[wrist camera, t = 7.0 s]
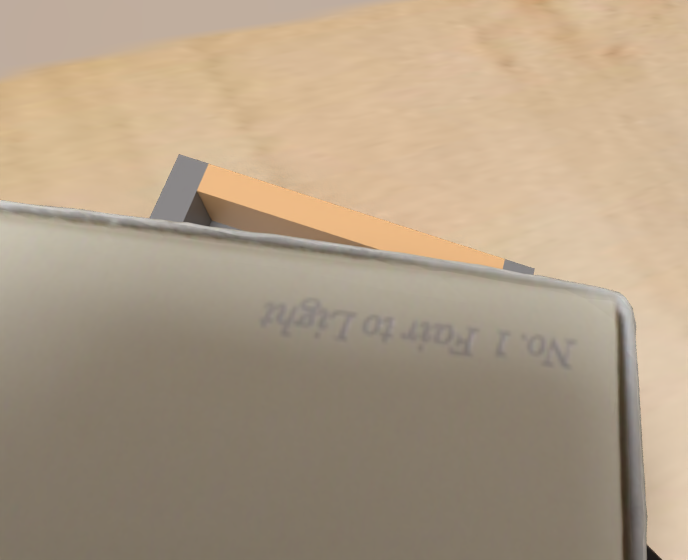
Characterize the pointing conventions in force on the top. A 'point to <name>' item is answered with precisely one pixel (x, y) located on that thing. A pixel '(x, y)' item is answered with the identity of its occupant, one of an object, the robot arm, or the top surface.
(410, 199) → the top surface
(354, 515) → the skincare box
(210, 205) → the tray
